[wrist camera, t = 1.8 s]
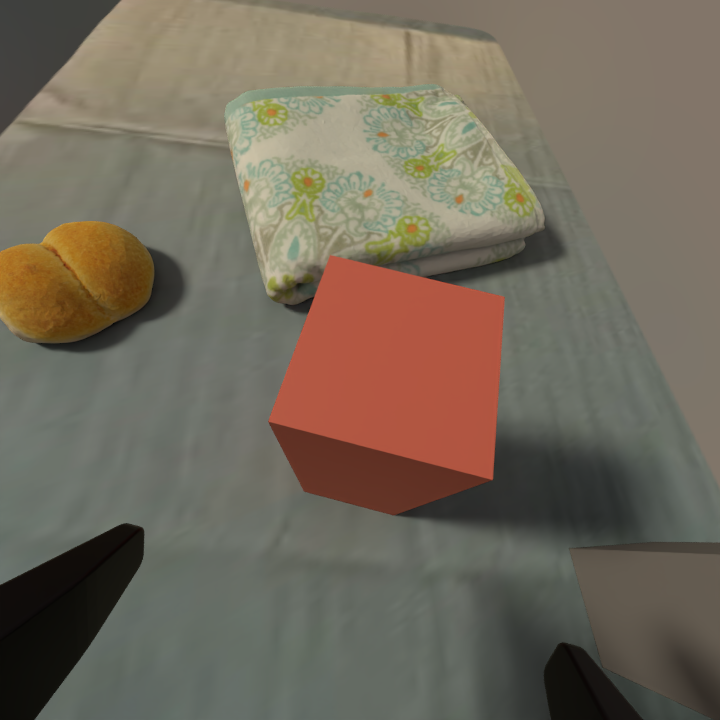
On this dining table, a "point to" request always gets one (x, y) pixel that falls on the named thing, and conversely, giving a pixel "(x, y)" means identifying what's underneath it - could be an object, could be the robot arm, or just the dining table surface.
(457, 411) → the red block
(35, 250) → the bread roll
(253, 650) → the dining table surface
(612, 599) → the gray block
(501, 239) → the towel
